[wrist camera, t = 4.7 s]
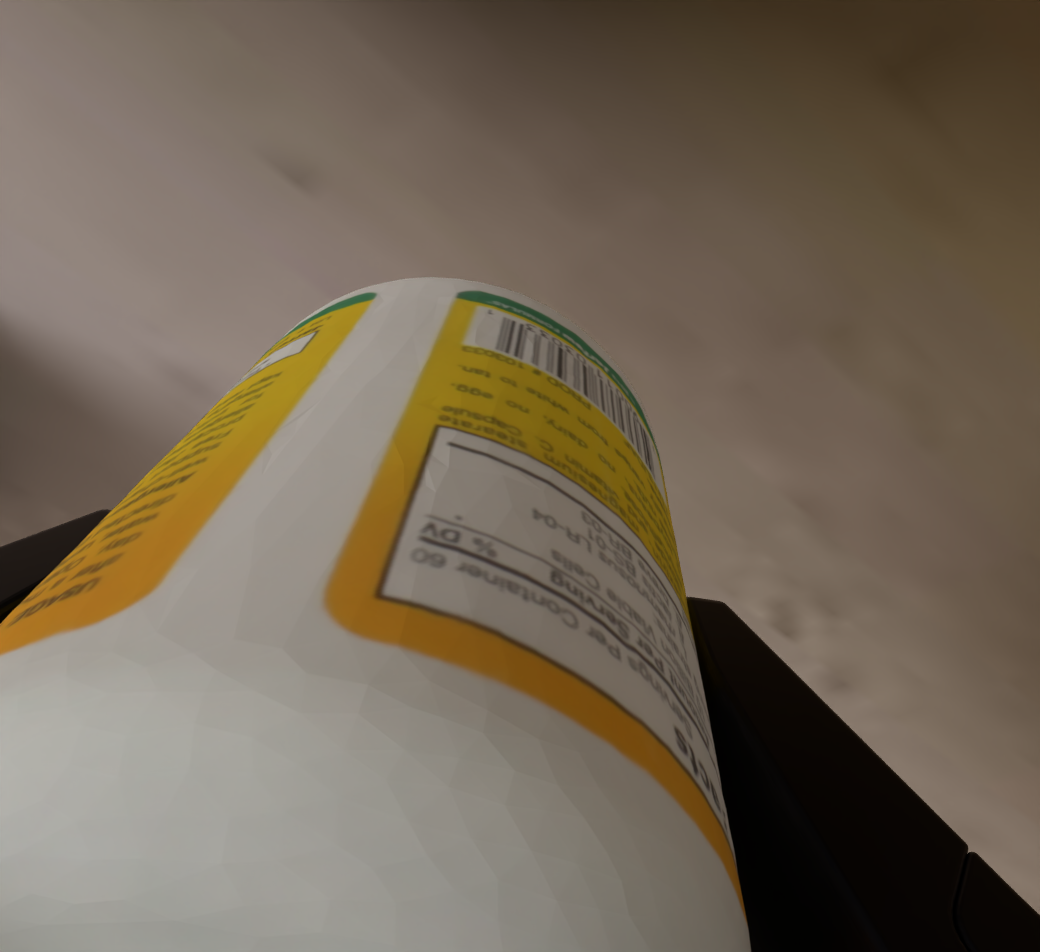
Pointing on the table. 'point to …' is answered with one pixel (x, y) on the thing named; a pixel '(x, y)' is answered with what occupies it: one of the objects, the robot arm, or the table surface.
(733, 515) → the table surface
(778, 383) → the table surface
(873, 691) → the table surface
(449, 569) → the supplement bottle
